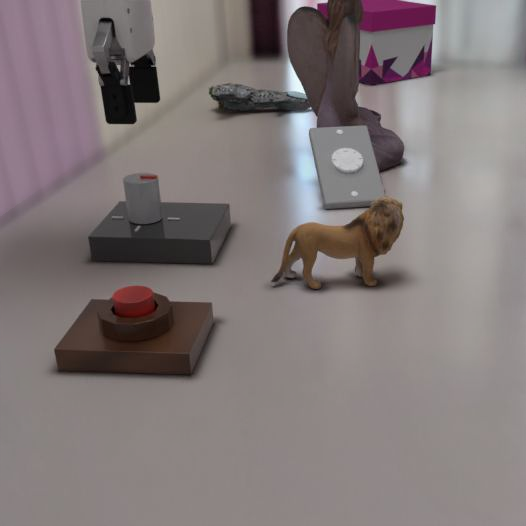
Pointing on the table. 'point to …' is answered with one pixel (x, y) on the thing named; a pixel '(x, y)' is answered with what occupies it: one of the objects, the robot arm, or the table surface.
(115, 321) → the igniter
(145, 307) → the button
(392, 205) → the lion figurine
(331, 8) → the figurine
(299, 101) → the jagged slate chunk
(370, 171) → the light switch
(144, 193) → the knob
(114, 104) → the robot arm
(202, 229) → the dark grey dial base
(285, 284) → the table surface
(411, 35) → the decorative box
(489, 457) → the table surface
